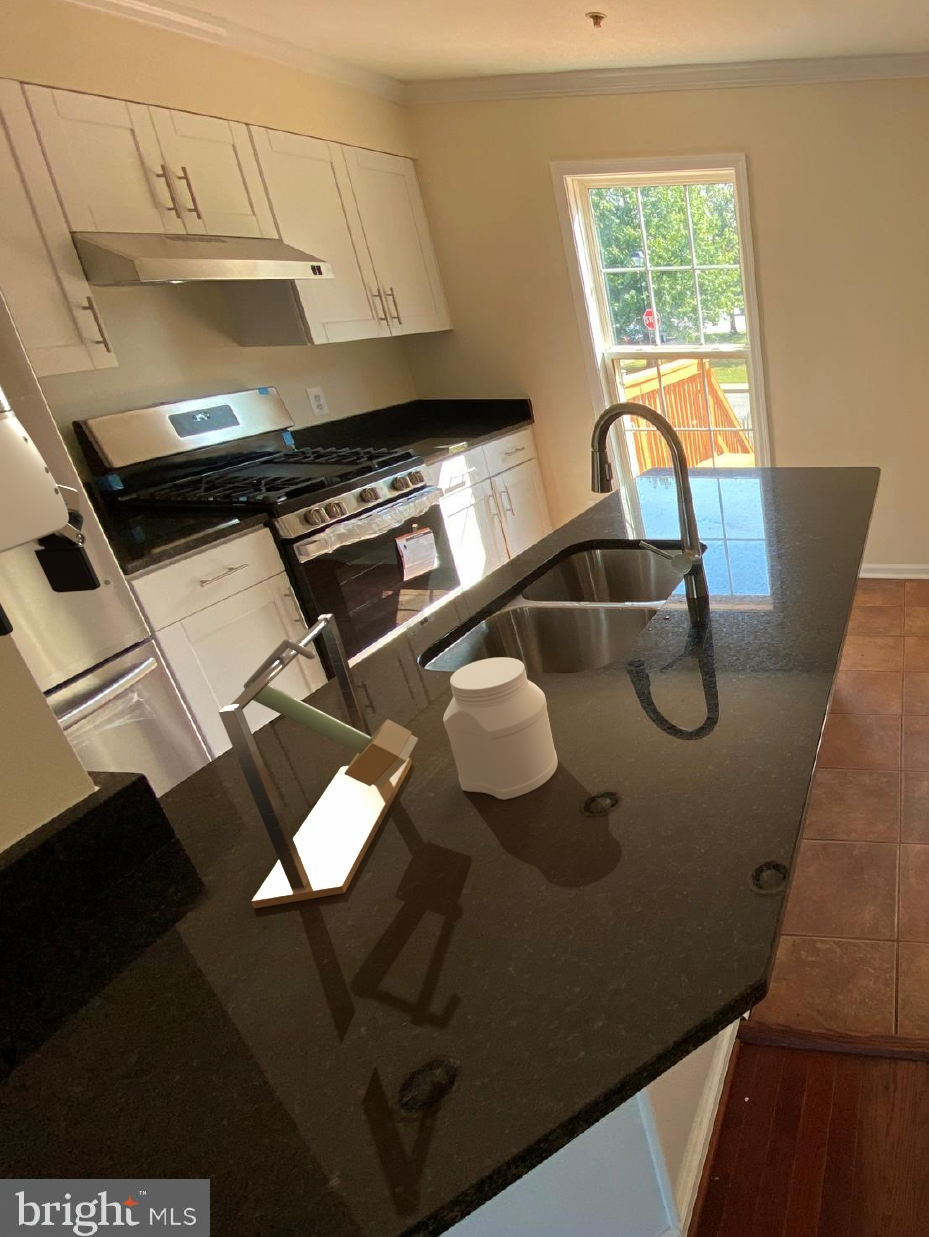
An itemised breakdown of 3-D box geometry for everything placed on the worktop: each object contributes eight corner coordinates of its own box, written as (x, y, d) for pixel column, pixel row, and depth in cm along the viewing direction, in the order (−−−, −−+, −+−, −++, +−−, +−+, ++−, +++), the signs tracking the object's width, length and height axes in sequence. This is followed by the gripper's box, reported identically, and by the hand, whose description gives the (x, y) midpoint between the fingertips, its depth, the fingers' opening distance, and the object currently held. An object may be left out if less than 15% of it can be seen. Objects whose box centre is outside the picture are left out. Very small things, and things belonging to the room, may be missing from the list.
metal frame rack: (253, 909, 70) (169, 719, 61) (343, 772, 90) (289, 615, 81) (344, 893, 72) (275, 707, 63) (412, 763, 92) (367, 609, 83)
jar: (445, 786, 88) (417, 684, 82) (501, 745, 96) (479, 649, 90) (521, 804, 85) (497, 699, 79) (571, 759, 93) (553, 661, 87)
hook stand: (378, 791, 78) (216, 712, 70) (393, 765, 82) (242, 688, 75) (432, 733, 77) (274, 648, 69) (444, 710, 81) (296, 627, 74)
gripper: (-32, 390, 58) (58, 579, 65) (-276, 420, 43) (-125, 663, 50) (78, 388, 60) (155, 572, 67) (-117, 417, 45) (8, 652, 52)
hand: (35, 611), depth 58 cm, fingers open, 9 cm apart
